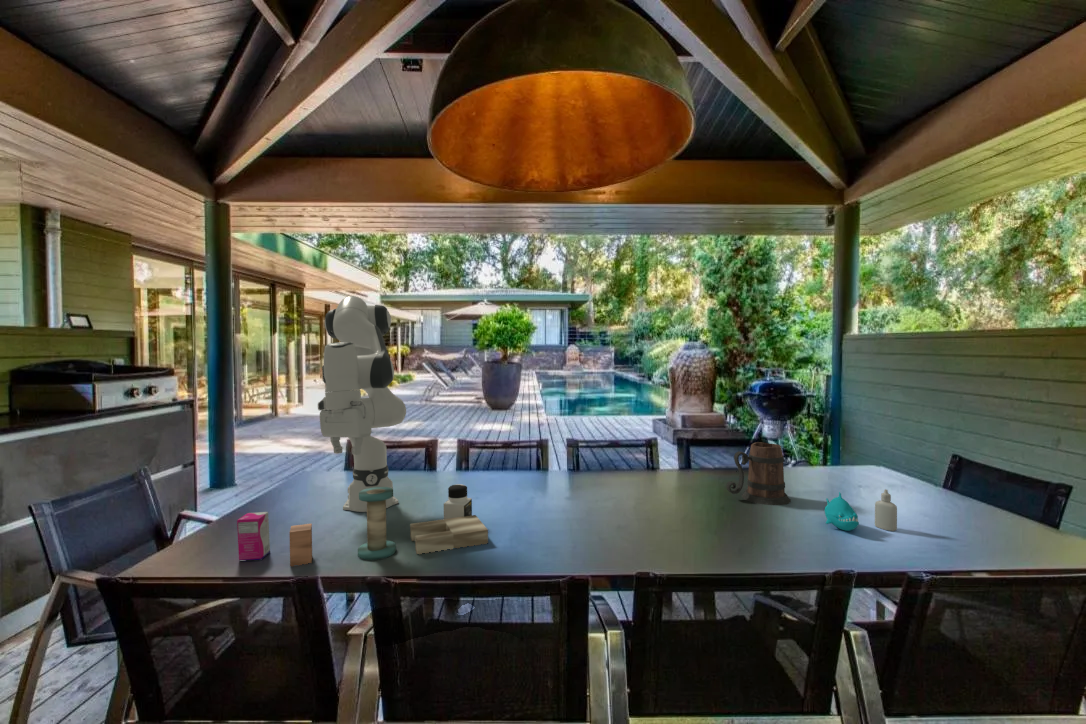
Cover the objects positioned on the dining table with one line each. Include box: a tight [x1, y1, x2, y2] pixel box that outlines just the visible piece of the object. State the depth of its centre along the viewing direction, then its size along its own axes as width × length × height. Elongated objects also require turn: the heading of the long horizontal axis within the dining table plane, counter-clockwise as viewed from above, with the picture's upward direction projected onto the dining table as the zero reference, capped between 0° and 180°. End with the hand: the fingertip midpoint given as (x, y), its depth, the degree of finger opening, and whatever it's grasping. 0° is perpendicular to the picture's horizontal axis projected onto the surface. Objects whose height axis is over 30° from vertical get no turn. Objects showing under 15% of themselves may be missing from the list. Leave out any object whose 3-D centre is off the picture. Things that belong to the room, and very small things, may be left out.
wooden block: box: [289, 523, 313, 567], centre depth 132 cm, size 5×5×9 cm
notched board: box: [409, 514, 489, 555], centre depth 146 cm, size 14×20×4 cm
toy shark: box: [824, 491, 860, 532], centre depth 156 cm, size 10×18×11 cm, turn 174°
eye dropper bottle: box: [874, 488, 898, 532], centre depth 153 cm, size 4×6×12 cm
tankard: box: [725, 441, 792, 506], centre depth 185 cm, size 24×17×20 cm
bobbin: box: [357, 487, 397, 561], centre depth 138 cm, size 10×10×17 cm
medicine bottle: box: [443, 483, 473, 519], centre depth 162 cm, size 7×7×12 cm
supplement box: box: [236, 511, 271, 561], centre depth 135 cm, size 6×6×12 cm
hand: (347, 453), depth 133 cm, fingers open, 8 cm apart
